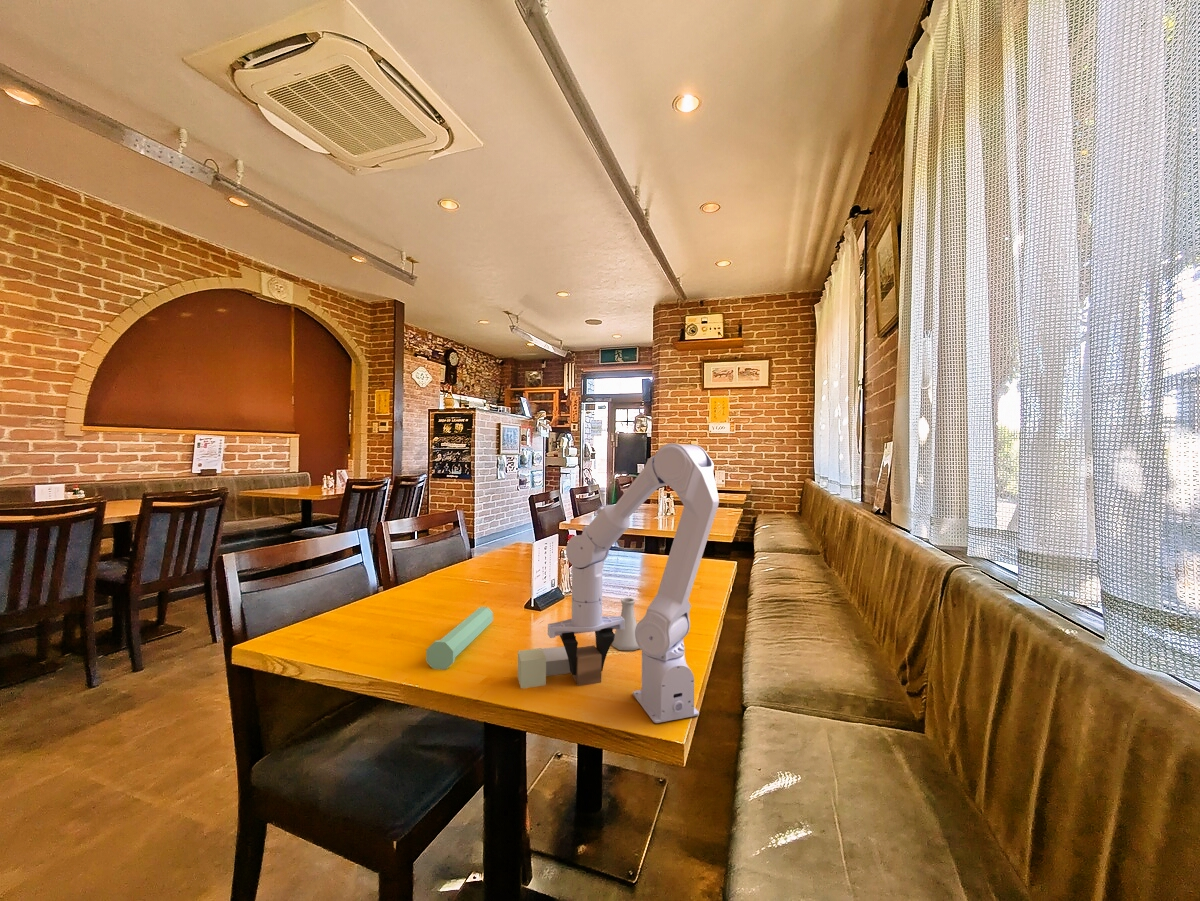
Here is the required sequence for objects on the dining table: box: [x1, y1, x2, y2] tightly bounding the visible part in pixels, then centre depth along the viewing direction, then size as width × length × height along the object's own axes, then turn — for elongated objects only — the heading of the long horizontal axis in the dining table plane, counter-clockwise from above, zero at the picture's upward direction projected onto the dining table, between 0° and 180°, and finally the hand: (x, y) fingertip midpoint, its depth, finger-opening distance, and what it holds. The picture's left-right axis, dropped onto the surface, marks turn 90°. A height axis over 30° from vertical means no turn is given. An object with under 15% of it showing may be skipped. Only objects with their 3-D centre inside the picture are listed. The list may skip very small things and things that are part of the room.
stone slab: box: [542, 645, 572, 677], centre depth 92 cm, size 6×6×3 cm
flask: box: [611, 597, 641, 651], centre depth 103 cm, size 7×7×10 cm
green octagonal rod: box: [425, 606, 494, 671], centre depth 103 cm, size 6×6×25 cm
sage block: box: [517, 647, 547, 689], centre depth 86 cm, size 4×4×5 cm
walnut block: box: [571, 645, 602, 687], centre depth 87 cm, size 4×4×5 cm
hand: (586, 670), depth 87 cm, fingers closed on walnut block, 4 cm apart
